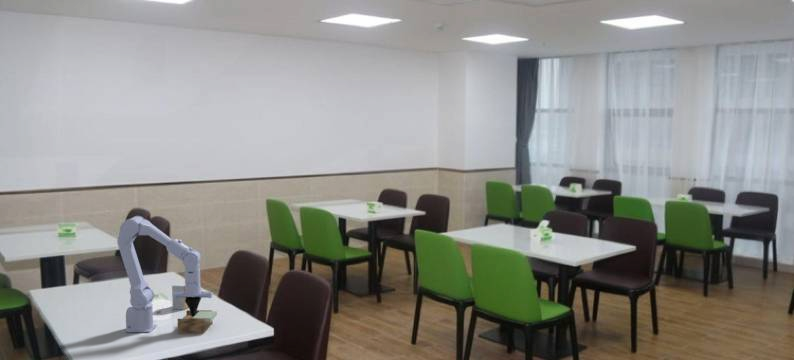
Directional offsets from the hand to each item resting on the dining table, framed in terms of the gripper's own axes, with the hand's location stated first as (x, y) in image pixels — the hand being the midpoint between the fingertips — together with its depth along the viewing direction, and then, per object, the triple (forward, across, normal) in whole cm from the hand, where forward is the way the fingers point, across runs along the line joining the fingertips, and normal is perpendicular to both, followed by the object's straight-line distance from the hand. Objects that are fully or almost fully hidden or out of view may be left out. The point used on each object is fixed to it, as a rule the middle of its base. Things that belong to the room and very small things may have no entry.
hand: (193, 315), depth 259 cm
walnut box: (+5, 0, 0) cm, 5 cm away
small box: (+5, +14, -29) cm, 32 cm away
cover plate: (+1, -4, 0) cm, 4 cm away
